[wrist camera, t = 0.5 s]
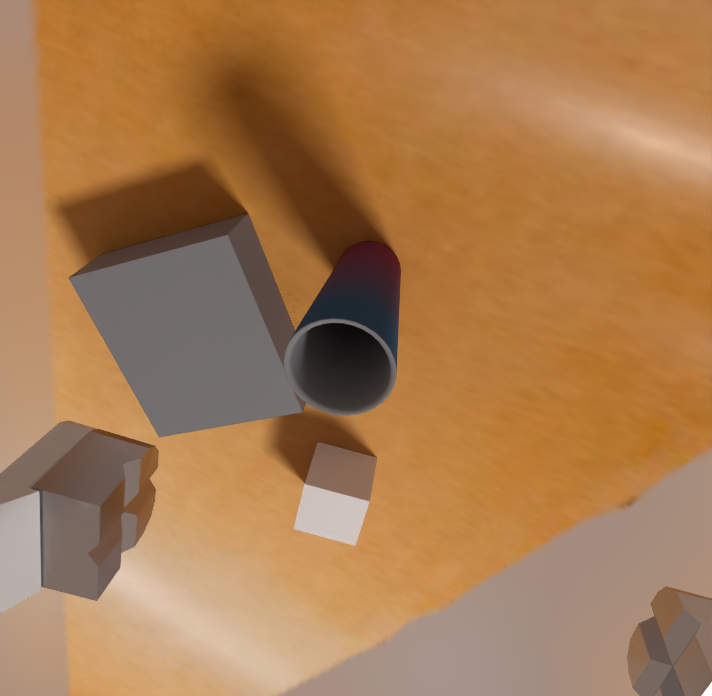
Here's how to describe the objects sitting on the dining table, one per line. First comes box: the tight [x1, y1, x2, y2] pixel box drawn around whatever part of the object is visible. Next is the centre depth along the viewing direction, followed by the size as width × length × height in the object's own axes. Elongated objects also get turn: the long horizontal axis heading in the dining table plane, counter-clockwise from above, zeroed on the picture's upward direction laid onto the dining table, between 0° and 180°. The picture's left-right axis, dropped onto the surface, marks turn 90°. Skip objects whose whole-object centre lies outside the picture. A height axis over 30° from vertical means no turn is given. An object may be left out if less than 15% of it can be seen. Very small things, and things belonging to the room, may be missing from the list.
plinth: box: [69, 214, 306, 437], centre depth 51 cm, size 16×14×5 cm
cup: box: [283, 241, 401, 416], centre depth 42 cm, size 7×7×15 cm
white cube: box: [294, 442, 377, 545], centre depth 57 cm, size 6×6×6 cm
